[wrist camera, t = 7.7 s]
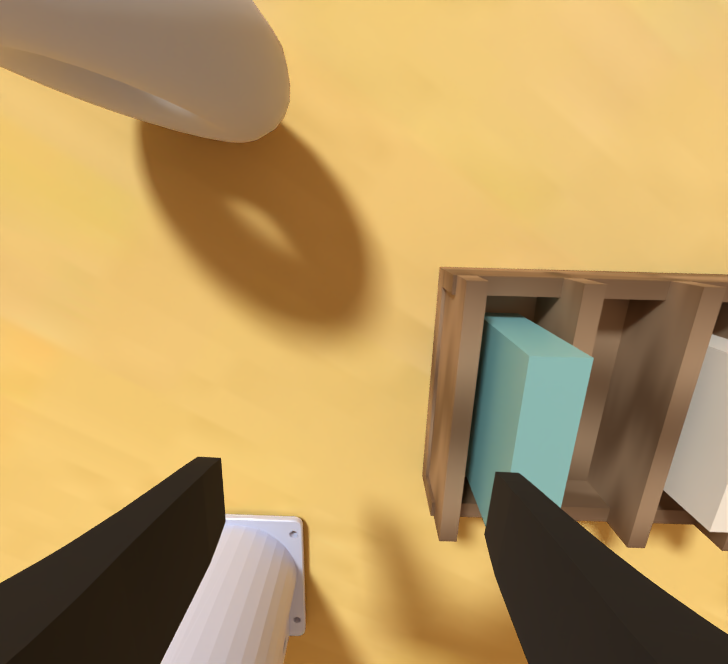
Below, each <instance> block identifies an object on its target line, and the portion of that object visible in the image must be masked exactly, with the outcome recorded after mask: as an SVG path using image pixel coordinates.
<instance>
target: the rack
mask: <svg viewBox="0 0 728 664" xmlns="http://www.w3.org/2000/svg"><path fill="white" fill-rule="evenodd" d="M485 312H488V313H518V314H520V315H522V316H523V317H525V318H527V319H528V320H530V321H532V322H534V323H535V324H537V325H539V326H540V327H542V328H544V329H545V330H547V331H549V332H551V333H552V334H554V335H556V336H557V337H559V338H561V339H562V340H564V341H566V342H567V343H569V344H571V345H573V346H574V347H576V348H578V349H579V350H581V351H583V352H584V353H586V354H588V355H590V356H591V357H593V358H594V359H593V364H592V368H591V373H590V377H589V382H588V386H587V391H586V396H585V400H584V405H583V409H582V414H581V418H580V423H579V427H578V432H577V437H576V441H575V446H574V450H573V455H572V459H571V464H570V469H569V473H568V478H567V482H566V487H565V491H564V496H563V501H562V505H561V509H562V510H563V511H565V512H566V513H567V514H568V515H569V516H571V517H572V518H573V519H574V520H575V521H605V522H607V523H608V524H609V525H610V526H611V528H612V529H613V530H614V531H615V533H616V534H617V535H618V536H619V538H620V539H621V540H622V541H623V543H624V544H625V545H626V546H627V547H628V548H645V546H646V543H647V540H648V537H649V533H650V530H651V527H652V524H653V523H664V524H694V525H695V526H696V527H697V528H698V529H699V530H700V531H701V532H702V533H703V534H705V535H706V536H707V537H708V538H709V539H710V540H711V541H712V542H713V543H714V544H715V545H716V546H718V547H719V548H720V549H721V550H722V551H728V532H709V531H708V530H707V529H706V528H705V527H704V526H703V525H702V524H700V523H699V522H698V521H697V520H696V519H695V518H694V517H693V516H692V515H690V514H689V513H688V512H687V511H686V510H685V509H684V508H683V507H682V506H680V505H679V504H678V503H677V502H676V501H675V500H674V499H673V498H672V497H670V496H669V495H668V494H667V493H666V492H665V491H664V490H663V489H664V486H665V482H666V479H667V476H668V473H669V470H670V466H671V463H672V460H673V457H674V454H675V450H676V447H677V444H678V441H679V438H680V434H681V431H682V428H683V425H684V422H685V419H686V415H687V412H688V409H689V406H690V403H691V399H692V396H693V393H694V390H695V387H696V383H697V380H698V377H699V374H700V371H701V368H702V364H703V361H704V358H705V355H706V352H707V348H708V345H709V342H710V339H711V336H712V334H713V335H716V336H719V337H722V338H726V339H728V275H722V274H684V273H646V272H609V271H571V270H534V269H496V268H458V267H440V271H439V283H438V295H437V307H436V319H435V331H434V343H433V355H432V367H431V379H430V391H429V403H428V414H427V426H426V438H425V450H424V462H423V474H422V476H423V481H424V486H425V491H426V495H427V500H428V505H429V510H430V515H431V516H434V519H435V524H436V529H437V533H438V538H439V541H455V542H457V534H458V526H459V518H460V517H482V516H481V513H480V511H479V508H478V505H477V503H476V500H475V498H474V495H473V492H472V490H471V487H470V484H469V482H468V479H467V477H466V474H465V469H466V461H467V453H468V445H469V437H470V429H471V421H472V413H473V404H474V396H475V388H476V380H477V372H478V364H479V356H480V348H481V340H482V331H483V323H484V315H485Z"/></svg>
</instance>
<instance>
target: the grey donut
mask: <svg viewBox="0 0 728 664" xmlns="http://www.w3.org/2000/svg"><path fill="white" fill-rule="evenodd" d="M0 67H3V68H5V69H7V70H9V71H12V72H14V73H16V74H19V75H21V76H23V77H26V78H28V79H30V80H33V81H35V82H37V83H40V84H42V85H44V86H47V87H49V88H52V89H54V90H57V91H60V92H62V93H65V94H67V95H70V96H73V97H75V98H78V99H80V100H83V101H86V102H89V103H91V104H94V105H97V106H100V107H103V108H105V109H108V110H111V111H114V112H117V113H120V114H123V115H126V116H129V117H132V118H135V119H138V120H141V121H144V122H147V123H151V124H154V125H158V126H161V127H165V128H168V129H171V130H175V131H179V132H183V133H187V134H191V135H195V136H199V137H204V138H208V139H214V140H219V141H225V142H235V143H245V142H250V141H256V140H258V139H260V138H261V137H263V136H265V135H266V134H268V133H269V132H271V131H273V130H274V129H276V127H277V126H278V125H279V123H280V122H281V121H282V119H283V118H284V117H285V114H286V111H287V108H288V105H289V102H290V81H289V75H288V69H287V64H286V60H285V56H284V52H283V48H282V45H281V44H280V42H279V40H278V38H277V36H276V35H275V33H274V31H273V29H272V28H271V26H270V25H269V24H268V22H267V21H266V19H265V18H264V16H263V15H262V13H261V12H260V11H259V9H258V8H257V6H256V5H255V3H254V2H253V1H252V0H0Z"/></svg>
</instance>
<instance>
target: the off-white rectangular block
mask: <svg viewBox="0 0 728 664" xmlns="http://www.w3.org/2000/svg"><path fill="white" fill-rule="evenodd" d="M663 490H664V491H665V492H666V493H667V494H668V495H669V496H670V497H672V498H673V499H674V500H675V501H676V502H677V503H678V504H679V505H680V506H682V507H683V508H684V509H685V510H686V511H687V512H688V513H689V514H690V515H692V516H693V517H694V518H695V519H696V520H697V521H698V522H699V523H700V524H702V525H703V526H704V527H705V528H706V529H707V530H708V531H709V532H728V339H726V338H722V337H719V336H716V335H713V334H712V336H711V339H710V342H709V345H708V348H707V352H706V355H705V358H704V361H703V364H702V368H701V371H700V374H699V377H698V380H697V383H696V387H695V390H694V393H693V396H692V399H691V403H690V406H689V409H688V412H687V415H686V419H685V422H684V425H683V428H682V431H681V434H680V438H679V441H678V444H677V447H676V450H675V454H674V457H673V460H672V463H671V466H670V470H669V473H668V476H667V479H666V482H665V486H664V489H663Z"/></svg>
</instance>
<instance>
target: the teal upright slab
mask: <svg viewBox="0 0 728 664" xmlns="http://www.w3.org/2000/svg"><path fill="white" fill-rule="evenodd" d="M593 359H594V358H593V357H591V356H590V355H588V354H586V353H584V352H583V351H581V350H579V349H578V348H576V347H574V346H573V345H571V344H569V343H567V342H566V341H564V340H562V339H561V338H559V337H557V336H556V335H554V334H552V333H551V332H549V331H547V330H545V329H544V328H542V327H540V326H539V325H537V324H535V323H534V322H532V321H530V320H528V319H527V318H525V317H523V316H522V315H520V314H518V313H488V312H485V315H484V323H483V331H482V340H481V348H480V356H479V364H478V372H477V380H476V388H475V396H474V404H473V413H472V421H471V429H470V437H469V445H468V453H467V461H466V469H465V474H466V477H467V479H468V482H469V484H470V487H471V490H472V492H473V495H474V498H475V500H476V503H477V505H478V508H479V511H480V513H481V516H482V518H483V521H484V524H485V526H486V522H487V517H488V511H489V505H490V500H491V494H492V488H493V482H494V477H495V472H515V473H520V474H521V475H522V476H524V477H525V478H526V479H527V480H529V481H530V482H531V483H532V484H533V485H535V486H536V487H537V488H538V489H539V490H540V491H542V492H543V493H544V494H545V495H546V496H547V497H548V498H550V499H551V500H552V501H553V502H554V503H555V504H557V505H558V506H559V507H560V508H561V505H562V501H563V496H564V491H565V487H566V482H567V478H568V473H569V469H570V464H571V459H572V455H573V450H574V446H575V441H576V437H577V432H578V427H579V423H580V418H581V414H582V409H583V405H584V400H585V396H586V391H587V386H588V382H589V377H590V373H591V368H592V364H593Z"/></svg>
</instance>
